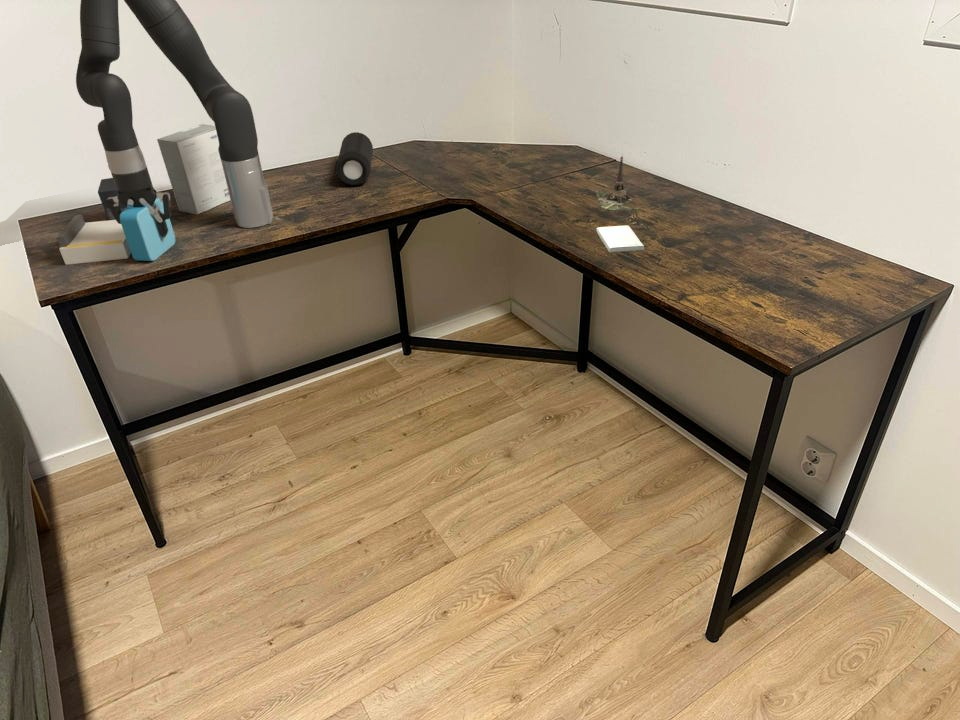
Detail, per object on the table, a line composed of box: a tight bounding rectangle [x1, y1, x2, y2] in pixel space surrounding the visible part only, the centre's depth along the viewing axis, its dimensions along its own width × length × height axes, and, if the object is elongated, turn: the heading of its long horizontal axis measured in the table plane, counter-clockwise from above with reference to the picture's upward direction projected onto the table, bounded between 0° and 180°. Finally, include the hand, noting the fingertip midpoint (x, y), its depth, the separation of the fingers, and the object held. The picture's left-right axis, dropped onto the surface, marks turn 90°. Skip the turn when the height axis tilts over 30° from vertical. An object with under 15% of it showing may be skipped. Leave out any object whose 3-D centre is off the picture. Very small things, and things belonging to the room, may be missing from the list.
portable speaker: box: [335, 131, 374, 186], centre depth 204 cm, size 26×10×10 cm, turn 5°
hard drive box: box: [156, 123, 231, 216], centre depth 183 cm, size 16×8×20 cm, turn 150°
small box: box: [97, 177, 127, 221], centre depth 177 cm, size 11×6×10 cm, turn 21°
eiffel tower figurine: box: [594, 155, 640, 211], centre depth 178 cm, size 15×10×13 cm
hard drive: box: [595, 225, 645, 253], centre depth 160 cm, size 2×8×12 cm
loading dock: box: [56, 214, 132, 265], centre depth 164 cm, size 14×16×6 cm
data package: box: [120, 197, 176, 262], centre depth 159 cm, size 12×4×12 cm, turn 173°
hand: (151, 236), depth 160 cm, fingers closed on data package, 5 cm apart
